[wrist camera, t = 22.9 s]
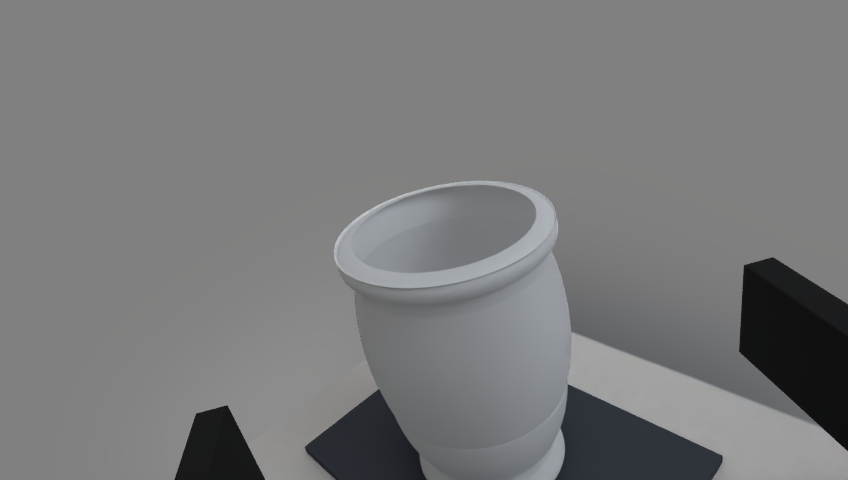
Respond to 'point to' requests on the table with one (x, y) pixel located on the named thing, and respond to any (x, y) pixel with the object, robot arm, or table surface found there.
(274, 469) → the table surface
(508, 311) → the jar
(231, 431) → the robot arm
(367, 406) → the mat
